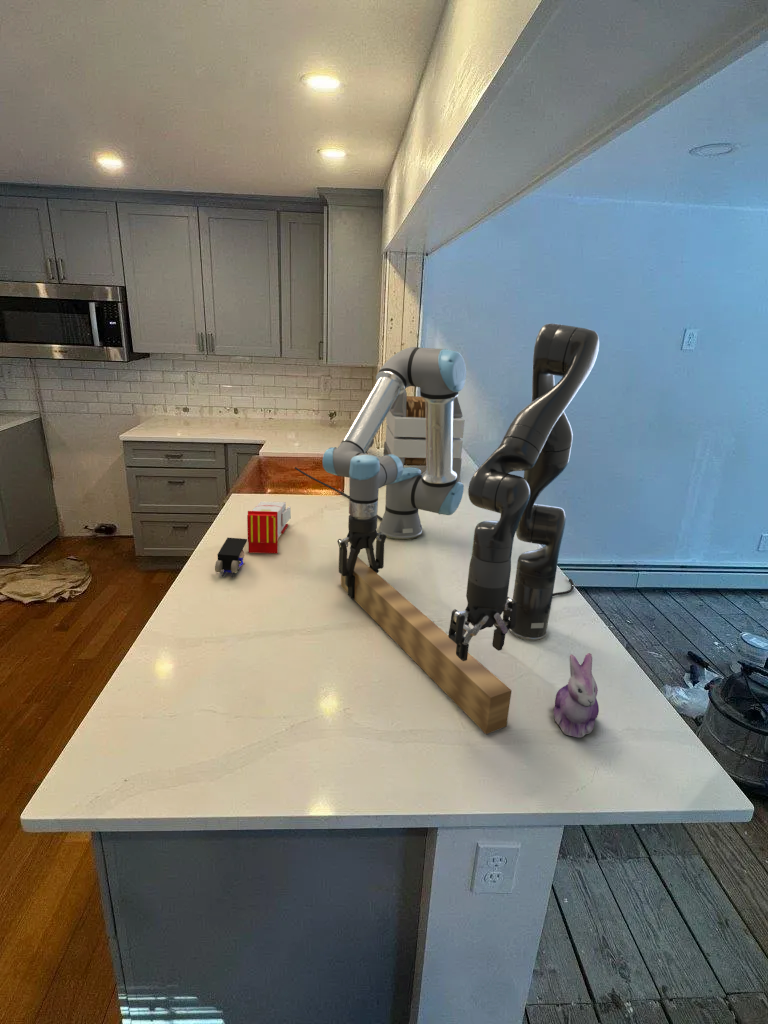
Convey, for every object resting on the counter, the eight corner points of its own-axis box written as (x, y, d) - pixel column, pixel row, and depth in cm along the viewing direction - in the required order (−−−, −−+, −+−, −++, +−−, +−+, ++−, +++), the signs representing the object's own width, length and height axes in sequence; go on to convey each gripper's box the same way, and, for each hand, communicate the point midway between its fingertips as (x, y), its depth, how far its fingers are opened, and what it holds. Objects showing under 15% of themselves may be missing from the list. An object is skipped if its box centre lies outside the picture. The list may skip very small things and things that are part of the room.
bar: (340, 586, 161) (341, 559, 158) (356, 583, 163) (357, 556, 160) (486, 734, 107) (490, 697, 104) (506, 726, 109) (511, 690, 106)
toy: (293, 496, 204) (280, 513, 174) (293, 532, 206) (280, 555, 177) (259, 495, 203) (240, 512, 174) (259, 531, 206) (241, 554, 177)
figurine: (577, 747, 104) (590, 678, 99) (539, 713, 113) (549, 648, 108) (613, 732, 109) (628, 665, 104) (573, 700, 117) (585, 637, 112)
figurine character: (238, 584, 162) (249, 557, 175) (236, 562, 158) (247, 536, 172) (215, 584, 161) (227, 556, 175) (212, 561, 158) (225, 535, 171)
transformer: (382, 463, 289) (386, 382, 275) (445, 464, 293) (451, 384, 279) (390, 482, 257) (394, 392, 243) (460, 483, 261) (468, 394, 247)
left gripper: (337, 524, 140) (335, 607, 148) (400, 515, 149) (395, 594, 157) (325, 514, 147) (324, 594, 154) (386, 506, 155) (382, 582, 163)
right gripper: (470, 593, 98) (461, 673, 103) (532, 578, 104) (521, 654, 110) (445, 576, 104) (438, 652, 109) (505, 563, 111) (496, 635, 116)
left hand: (360, 594), depth 156 cm, fingers closed on bar, 5 cm apart
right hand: (479, 653), depth 109 cm, fingers open, 8 cm apart
